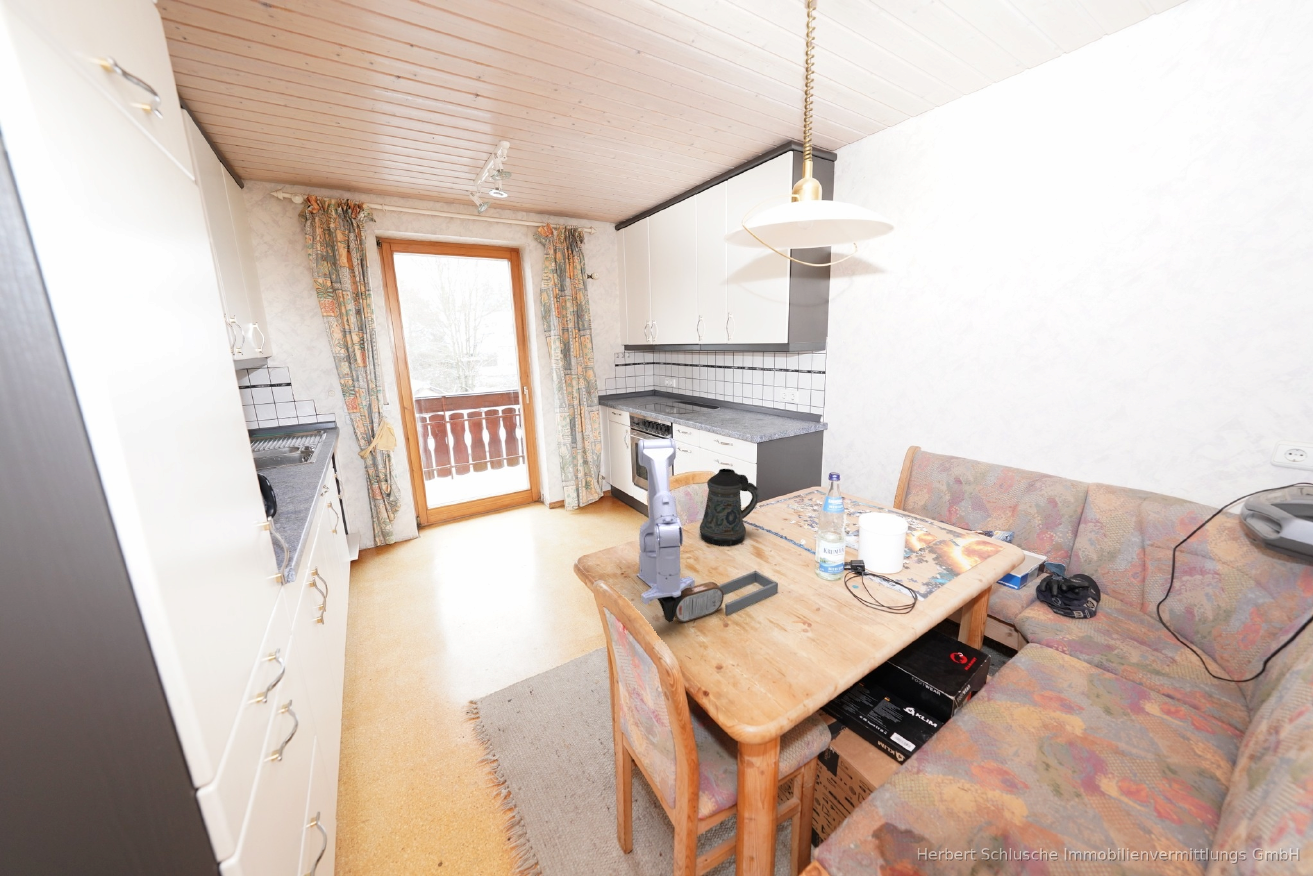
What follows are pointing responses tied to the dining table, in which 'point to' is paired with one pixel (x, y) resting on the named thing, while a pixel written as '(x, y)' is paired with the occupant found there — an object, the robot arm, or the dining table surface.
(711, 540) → the beer stein
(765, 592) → the pocket
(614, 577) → the dining table surface
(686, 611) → the tin
